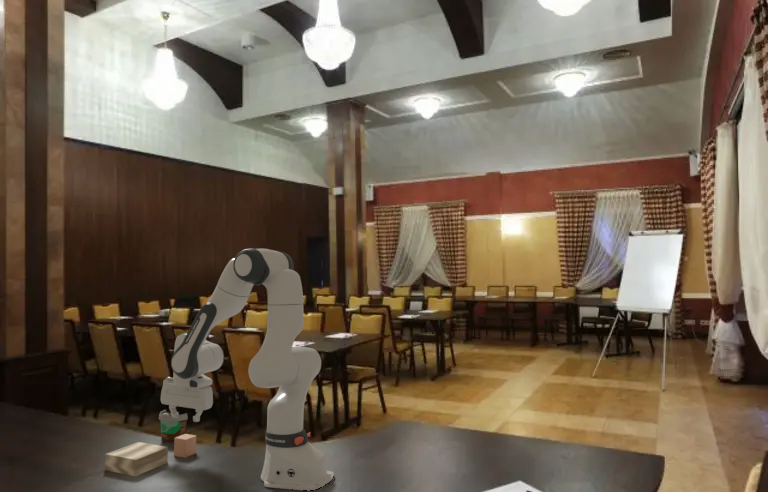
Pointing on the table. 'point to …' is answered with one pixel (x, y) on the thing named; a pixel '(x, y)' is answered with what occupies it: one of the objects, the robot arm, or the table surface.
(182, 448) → the terracotta block
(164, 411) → the food container
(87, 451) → the table surface
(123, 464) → the birch plinth
